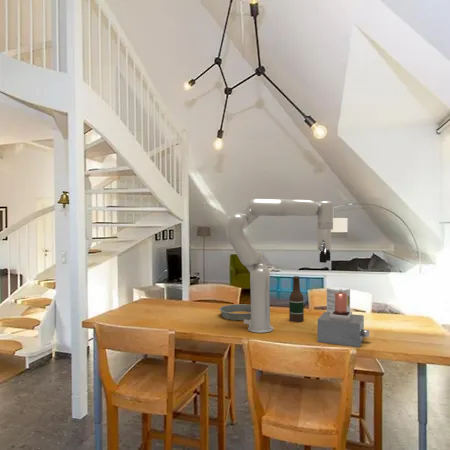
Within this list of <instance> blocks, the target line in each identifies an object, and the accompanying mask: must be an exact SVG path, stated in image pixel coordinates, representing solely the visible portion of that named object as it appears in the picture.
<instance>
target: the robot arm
mask: <svg viewBox="0 0 450 450" xmlns="http://www.w3.org/2000/svg"><path fill="white" fill-rule="evenodd" d="M247 204H248V205H246V206H245V207H243V209H242V210H240V211H239V212H238V213H235V214H233V215H231V217H230V218H229V219H228V220H227V221H228V222H227V224H226V227H225V228H226V229H225V234H226V238H227V240H228V242H229V243H230V245H231V247H232V249H233V251H234V252H235V254H236V256H237V257H238V259H239V261H240V262H241V265H243V266H244V267H245V268H246V269H247V270H248V272H249V275H250V277H249V282H250V284H249V285H250V287H249V288H250V305H251V312H250V313H251V319H250V320H246V319H244V321H243V324H244V325H248V326H247V330H248V331H249V332H252V333H256V334H257V333H258V334H259V333H260V334H266V333H270V332H273V330H274V327H273V325H271V306H270V305H271V295H270V294H271V292H270V291H271V288H270V287H271V285H270V284H271V275H270V274H271V273H270V272H271V271H270V269H269V267H268V266H267V264H266V262H265V261H264V259H263V257H262V256H261V254H260V252H259V251H258V250H257V249H256V248H255V247H253V246H252V244H251V243H250V242H249V240H248V238H247V236H246V235H245V233H244V230H245V229H246V228H247V227H249V225H251V224H252V223H253V222H254V221H255V220H257V219H258V218H259V217H261V216H265V217H267V216H268V217H286V216H287V217H289V216H302V217H313V216H316V230H318V233H317V250H319V263H323V264H325V263H327V262H329V261H331V248H332V231H331V230H333V229H334V204H333V201H331V200H321V201H320V200H319V201H314V200H311V199H285V198H257V197H256V198H252V199H250V200H249V202H248V203H247Z"/></svg>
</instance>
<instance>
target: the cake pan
mask: <svg viewBox="0 0 450 450" xmlns="http://www.w3.org/2000/svg"><path fill="white" fill-rule="evenodd" d="M219 311H220V312H221V317H222V318H223V317H224V319H225V318H226V320H229V319H230V321H237V320H244V319H246V320H250V319H251V304H245V303H244V304H243V303H241V304H239V303H238V304H237V303H236V304H227V305H222V306H220V307H219ZM244 311H245V312H244ZM229 312H230V313H229ZM238 312H239V313H238ZM241 312H243V313H241ZM246 312H247V313H246Z"/></svg>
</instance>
